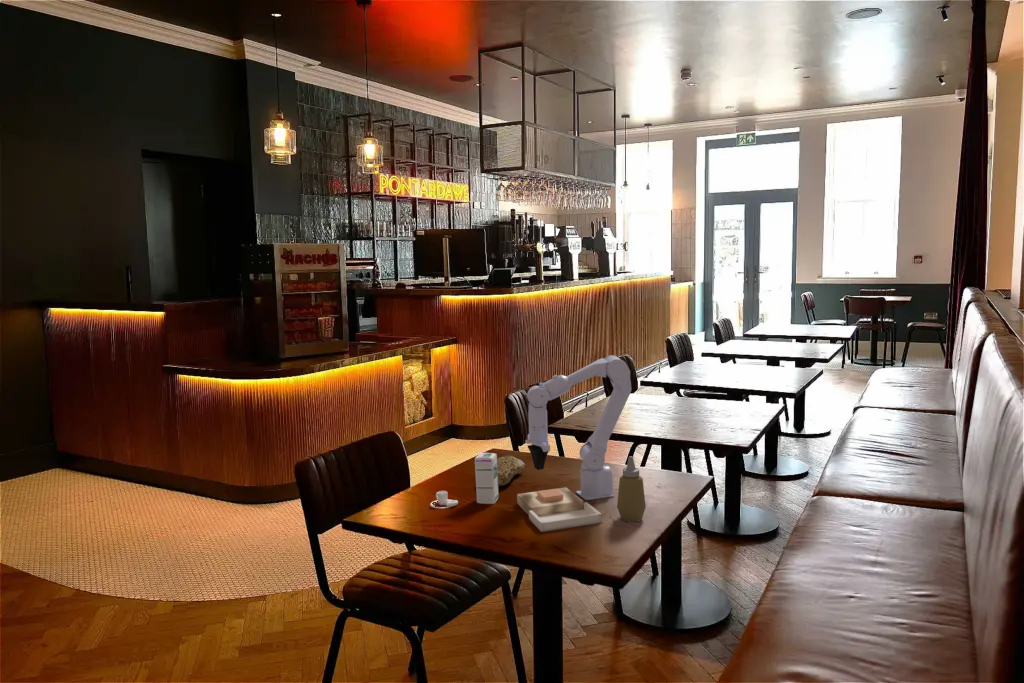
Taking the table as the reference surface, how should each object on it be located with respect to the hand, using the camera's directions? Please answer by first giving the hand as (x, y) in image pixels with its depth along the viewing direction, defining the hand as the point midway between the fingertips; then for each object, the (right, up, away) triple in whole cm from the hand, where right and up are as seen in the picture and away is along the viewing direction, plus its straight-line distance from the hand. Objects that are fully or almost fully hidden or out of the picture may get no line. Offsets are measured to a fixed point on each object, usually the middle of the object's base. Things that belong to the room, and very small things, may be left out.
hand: (539, 468), depth 222 cm
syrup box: (-16, -10, 0) cm, 19 cm away
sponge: (-12, -8, +20) cm, 24 cm away
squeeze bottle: (+25, -11, -18) cm, 33 cm away
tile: (+3, -7, -8) cm, 11 cm away
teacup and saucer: (-30, -12, -4) cm, 32 cm away
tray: (+7, -12, -18) cm, 23 cm away
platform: (+3, -10, -7) cm, 13 cm away
